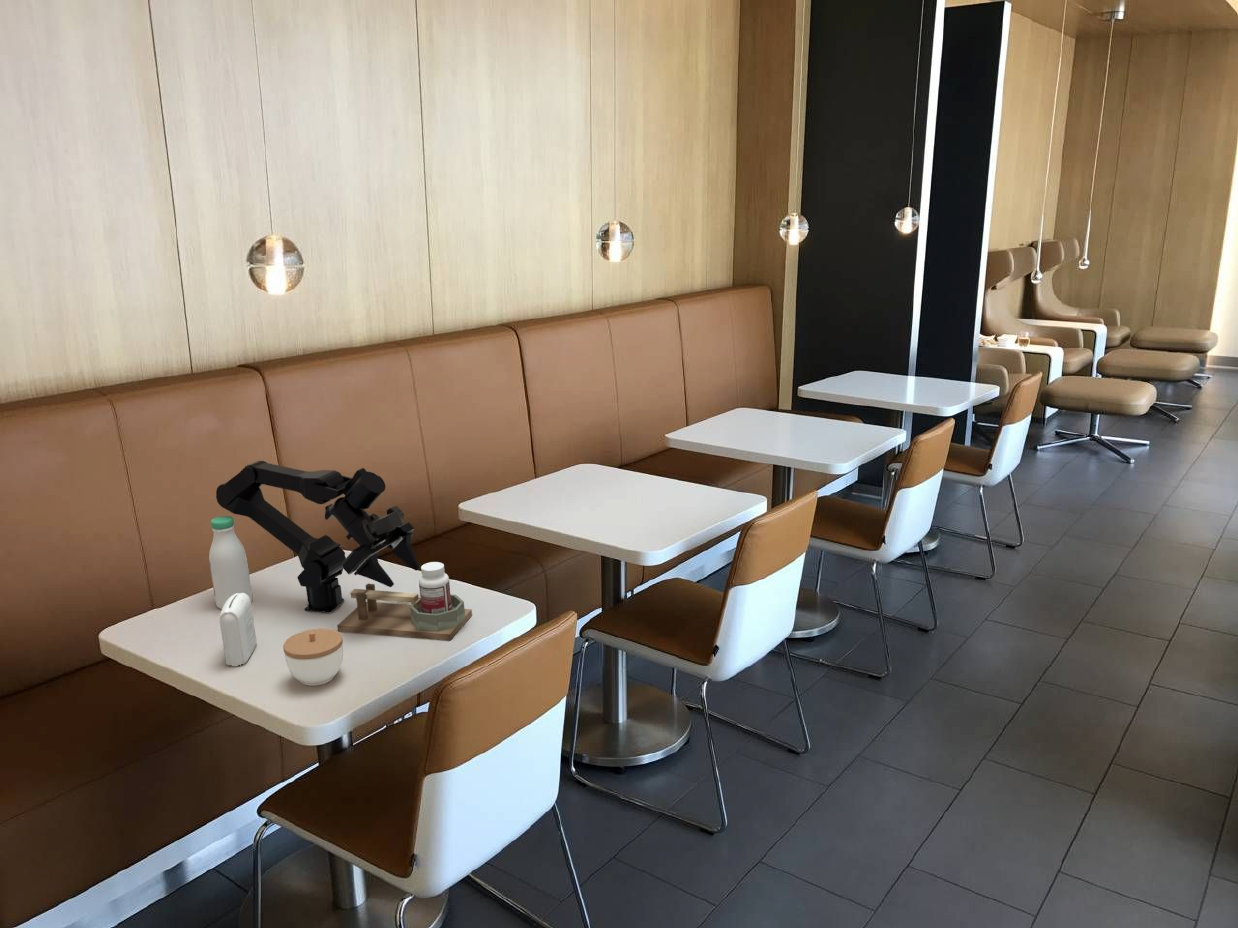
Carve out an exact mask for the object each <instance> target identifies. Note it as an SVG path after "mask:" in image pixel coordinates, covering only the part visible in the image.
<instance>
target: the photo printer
mask: <svg viewBox="0 0 1238 928" xmlns="http://www.w3.org/2000/svg"><path fill="white" fill-rule="evenodd" d="M252 608H253V607H252V602H251V600H250V598H249V596H248V595H247V594H245V593H236V594H234V595H232V596H231V597H230V598H229V599H228V600H227V601H226V603H225V604H224V606H223V608H222V609H220V610H221V611H220V614H219V625H220V633H221V641H222V647H223V652H224V653H223V654H224V659H225V663H226V665H228V666H229V665H232V666H231V667H238V666H237V665H240V666H242V665H241V664H243V665H244V664H246V663H247V662H248V660H249V659H250V658H251V655H252V654H253V652H254V651H255V648H256V647H257V635H256V627H255V622H254V616H253V615H254V614H253V609H252Z"/></svg>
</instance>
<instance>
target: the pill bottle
mask: <svg viewBox="0 0 1238 928" xmlns="http://www.w3.org/2000/svg"><path fill="white" fill-rule="evenodd" d="M420 571H421V576H420V577H419V579H418V587H419V598H421V608H422V613H430V614H439V613H443V612H446V611H450V610H452V605H451V595H450V594H451V585H450V577H449V575H448V574H447V573H446V572H445V564H444V563H442V562H439V561H430V562H427V563H424V564H423V565H421V566H420Z"/></svg>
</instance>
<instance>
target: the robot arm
mask: <svg viewBox="0 0 1238 928" xmlns="http://www.w3.org/2000/svg"><path fill="white" fill-rule="evenodd" d="M263 485H264V486H269V487H274V488H277V489H278V488H279V489H283V490H288V491H292V492H295V493H299V494H301V496H302V497H303V498H304V499H306V500H308V501H310V502H313V503H314V504H317V505H325V504H327V503H329V502H331V501H332V500H334V499H336V498H337V499H336V500H335V501H334V502H333V503H330V504H328V505H326V506H325V507H324V509H325V512H324V520H330V519H332V518H335V520H336V521H337V522H338V523H339V524H340V525H341V526H342V527H343V528H344V530H345V531H346V532H347V533H348V534H347V535H345V536H346V537H345V538H346V539H347V540H348V541H351V540H352V539H353V540H354V542H356V543H357V545H358V546H357V547H356V548H355V549H353V550H352V551H351V552H350V553H349V554H348V556H346V552H345V551H344V549H343V548H342V547H340V546H341V544H340V543H338V542H336V541H334V540H333V539H332V538H331V537H330V536H329V535H326V534H324V535H323V536H321V537H319V538H317V537H314V536H312V535H311V534H309V533H308V532H307V531H306V530H304V529H303V528H301V526H299V525H298V524H297V523H295V522H294V521H292V519H290V518H289V517H288V516H286V515H285V514H284V513H282V512H281V511H279V510H278V509H277V508H276V507H274V505H272V504H271V503H269V502H268V501H267V500H266V499H265V498H264V497H265V496H264V495H263V492H262V489H261V487H262V486H263ZM385 490H386V483H385V480H384V479H383V478H382V477H381V476H380V475H378V474H376V473H374V472H372V471H367V469H365V467H362V468H360V469H357V470H356V471H355V472H354V474H353V476H352V477H350V476H346V475H343V474H342V473H341V472H339V471H337V470H336V469H335V470H333V469H325V470H324V469H321V470H320V469H319V470H314V471H306V470H300V469H297V468H292V467H288V466H283V465H278V464H273V463H268V462H267V461H265V460H257V461H254V462H252V463H249V464H247V465H245V466H244V467H243V468H242V469H241V470H240V471H239V472H238V473H237V474H236V475H234V476H233V477H232V478H230V479H229V480H228V481H227V482H224V483H222V484H220V485H218V486H217V488H216V490H215V497H216V502H217V504H218V505H219V506H220V507H221V508H223V509H224V510H226V511H228V512H229V513H231V514H234V515H236V516H242V517H248V518H250V520H251V521H254V522H255V523H256V524H257V525H258V526H260V527H261V528H262V529H264V531H266V532H268V533H269V534H270V535H271V536H272V537H274V538H275V539H276V540H277V541H279V542H280V543H282V544H283V545H284V546H286V547H287V548H288V549H289V550H290V551H292V552H293V553H295V554H296V555H297V558H298V560H299V563H300V565H301V566H300V567H302V568H303V570H302V571H301V572H300V573H299V575H298V576H297V577H296V578H297V580H298V583H299V585H300V587H305V591H306V598H307V606H305V607H304V611H306V612H316V613H317V612H318V613H333V612H334V611H335V610H336V609H337V608H338V607H340V606H341V605H342V604H343V603H344V602H345V598H343V593H342V588H341V587H342V586H341V584H340V582H339V578H338V577H339V576H341V575H343V571H345V573H346V574H347V575H352V574H353V575H355V576H357V575H358V576H361V577H364V578H366V579H370V580H372V581H375V582H378V583H380V584H382V585H385V586H386V587H389V588H392V587H393V586H394V585H395V583H394V581H393V580H392V578H391V577H390V576H389V575H388V573H387V572H386V571H385V569H384V568H383V567H382V566H381V564H380V563H379V559H378V552H380V551H382V550H383V549H385V548H389V549H391V551H390V552H391V553H392V554H393V555H394V556H395V557H397V558H398V559H399V560H401V561H402V562H404V563H405V565H407V566H409V567H410V568H411V569H412V570H414V571H419V569H420V565H419V563H418V560H417V558H416V554H415V553H414V549H413V546H412V537H413V535H414V533H413V531H415V527H414V526H413V525H412V524H411V522H410V521H403V519H404V517H405V513H404V512H403V510H401V508H399V506H398V505H394V506H392V507H390V508H388V509H386V514H385V515H383V516H381V517H379V516H378V514H375V513H372V514H369V512H368V511H367V510H368V509H369V508H371V506H372V505H373V504H375V502H376V501H377V499H379V498H380V497H381V495H382V494H384V492H385ZM342 495H344V496H342ZM340 496H341V497H340Z"/></svg>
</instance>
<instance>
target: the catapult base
mask: <svg viewBox="0 0 1238 928" xmlns="http://www.w3.org/2000/svg"><path fill="white" fill-rule="evenodd" d="M366 589H370V590H376V586H375V583H366V584H365V590H366ZM355 599H356V600H355V601H356V608H354V609H353V611H352V612H350V613H349V614H347V616H345V618H343V619H342V620H341V621H340V622H338V624H337V626H336V628H337V632H339V633H341V632H342V633H353V634H366V635H379V636H389V637H401V638H402V637H403V638H415V639H423V640H424V639H425V640H436V641H437V640H439V641H448V642H449V641H450V642H451V641H452V640H453V639H454V638H455V636H457V634H458V633H459V631H460V630H461V629H462V628H463V627H464V625H466V624H467V622H468V620H470V618H471V617H472V616H473V609H471V608H464V609H465V618H464V619H463V620H462V622H461V623H460V624H459V625H458V626H456V627H452V628H449V629H445V630H441V631H428V630H419V629H418V628H417V627H416V626H415V625H414V624H413V623H412V621H411V610H410V606H411V604H406V603H404V604H403V603H393V602H392V603H391V602H380V601H379V602H377V600H372V599H366V597H365V593H363V592H358V593H356V598H355ZM462 626H463V627H462Z"/></svg>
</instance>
